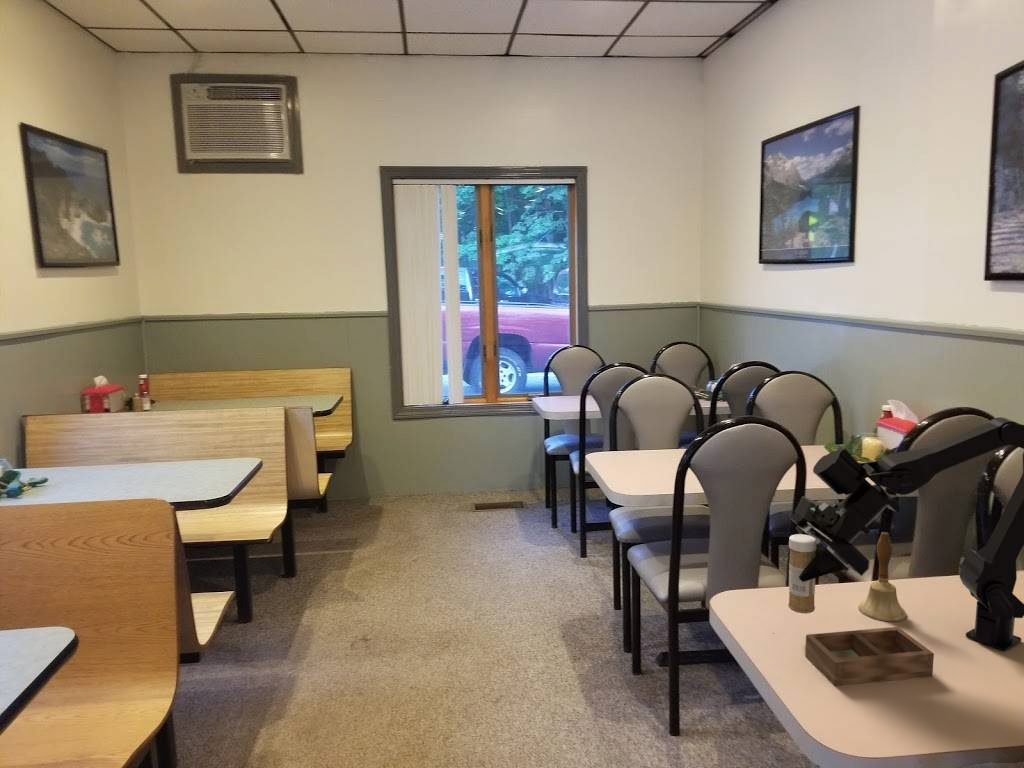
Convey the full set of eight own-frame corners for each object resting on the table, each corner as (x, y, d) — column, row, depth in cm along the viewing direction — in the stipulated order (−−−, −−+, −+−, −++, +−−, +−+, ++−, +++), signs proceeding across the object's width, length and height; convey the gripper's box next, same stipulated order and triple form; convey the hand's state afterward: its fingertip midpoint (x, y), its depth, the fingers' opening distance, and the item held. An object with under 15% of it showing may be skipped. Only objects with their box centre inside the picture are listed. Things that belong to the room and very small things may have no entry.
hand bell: (859, 617, 136) (863, 538, 134) (857, 599, 144) (861, 523, 142) (908, 625, 133) (914, 543, 131) (903, 605, 141) (908, 528, 138)
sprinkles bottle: (820, 609, 129) (822, 538, 127) (804, 616, 126) (806, 544, 124) (797, 601, 133) (799, 531, 131) (782, 607, 130) (783, 536, 128)
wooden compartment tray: (896, 648, 125) (898, 626, 125) (932, 676, 116) (934, 653, 116) (805, 656, 123) (806, 634, 123) (834, 685, 115) (835, 662, 114)
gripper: (801, 468, 135) (743, 527, 136) (854, 499, 117) (787, 567, 118) (840, 506, 137) (783, 564, 138) (898, 542, 119) (832, 608, 120)
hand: (794, 574), depth 128 cm, fingers closed on sprinkles bottle, 4 cm apart
